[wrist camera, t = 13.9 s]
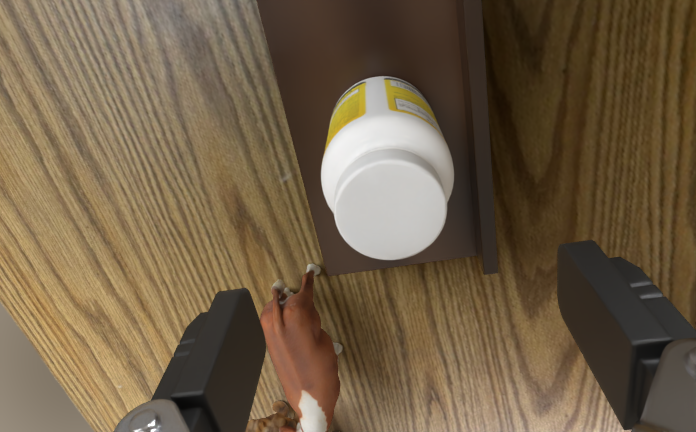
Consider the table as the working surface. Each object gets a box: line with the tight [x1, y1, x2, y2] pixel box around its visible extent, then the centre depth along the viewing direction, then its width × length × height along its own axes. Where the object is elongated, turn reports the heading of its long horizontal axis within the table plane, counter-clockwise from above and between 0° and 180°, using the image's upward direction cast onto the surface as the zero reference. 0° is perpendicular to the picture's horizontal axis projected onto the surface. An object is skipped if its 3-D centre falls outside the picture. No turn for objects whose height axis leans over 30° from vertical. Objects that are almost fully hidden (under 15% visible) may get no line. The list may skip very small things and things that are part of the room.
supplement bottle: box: [321, 76, 454, 260], centre depth 21 cm, size 5×5×10 cm
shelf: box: [256, 0, 498, 276], centre depth 27 cm, size 10×18×6 cm, turn 11°
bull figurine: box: [260, 263, 343, 432], centre depth 34 cm, size 4×13×8 cm, turn 7°
